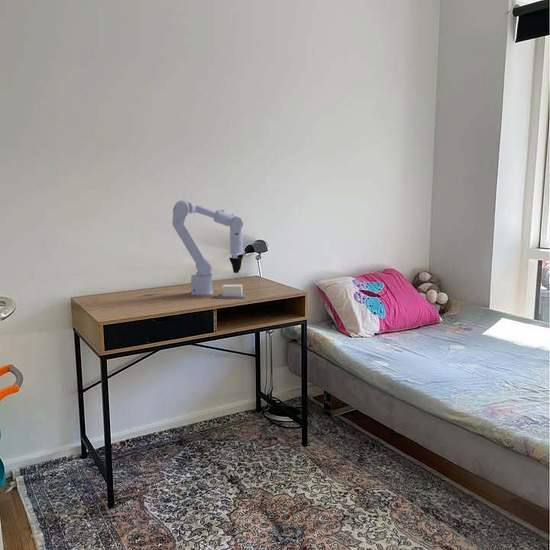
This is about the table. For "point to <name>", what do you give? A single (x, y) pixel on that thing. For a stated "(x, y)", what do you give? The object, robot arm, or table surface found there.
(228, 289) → the white rectangular block
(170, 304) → the table surface
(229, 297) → the mat
